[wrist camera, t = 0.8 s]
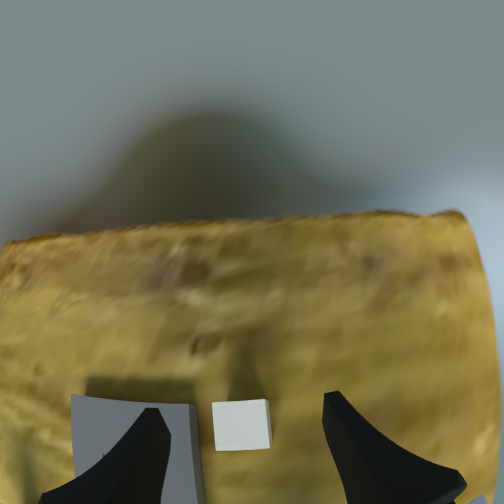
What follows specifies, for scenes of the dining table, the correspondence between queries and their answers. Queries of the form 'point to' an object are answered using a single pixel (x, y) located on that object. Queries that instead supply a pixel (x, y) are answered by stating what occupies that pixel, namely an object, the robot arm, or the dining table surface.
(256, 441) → the plug block
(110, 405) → the socket plate
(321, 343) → the dining table surface
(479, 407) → the dining table surface
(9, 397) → the dining table surface
